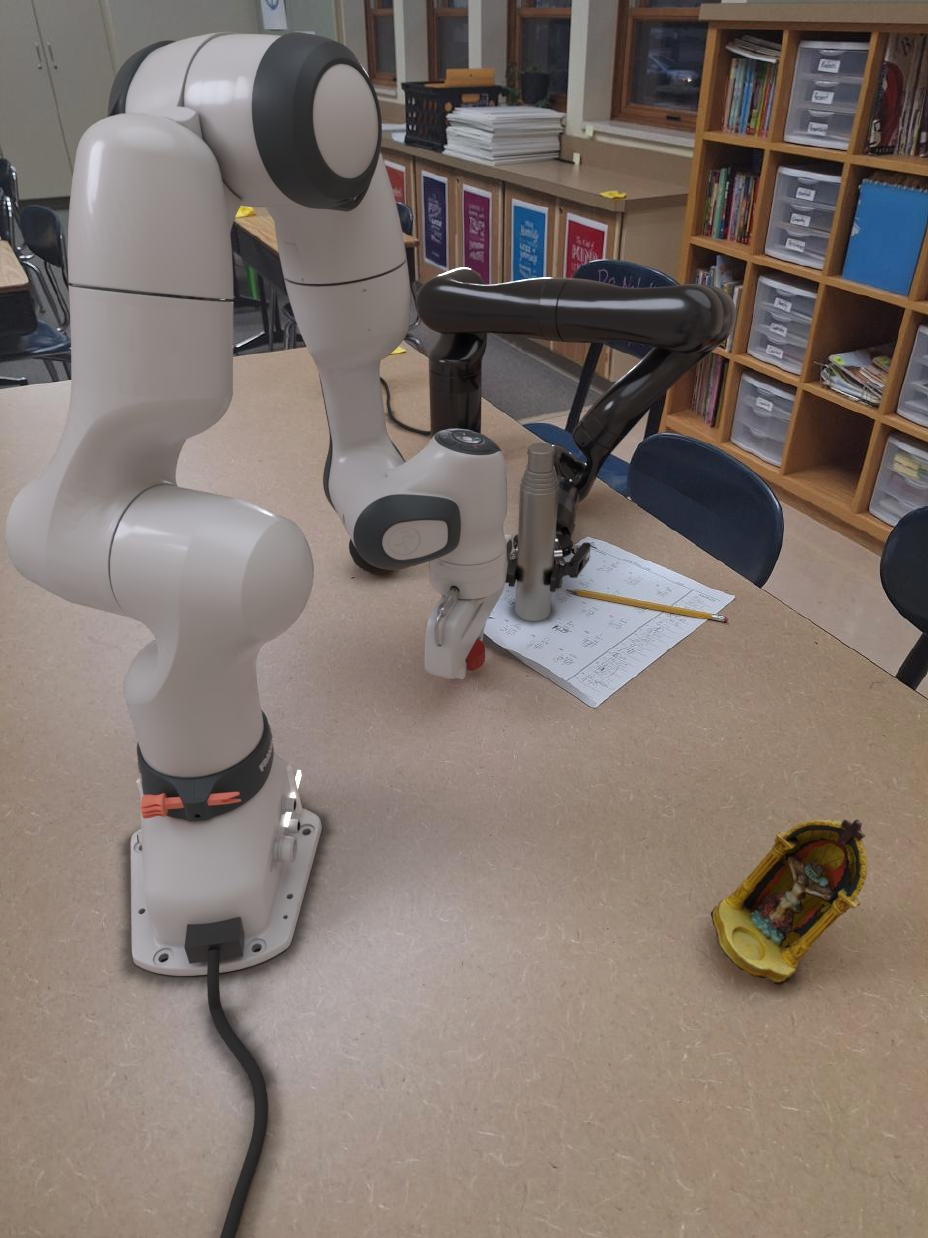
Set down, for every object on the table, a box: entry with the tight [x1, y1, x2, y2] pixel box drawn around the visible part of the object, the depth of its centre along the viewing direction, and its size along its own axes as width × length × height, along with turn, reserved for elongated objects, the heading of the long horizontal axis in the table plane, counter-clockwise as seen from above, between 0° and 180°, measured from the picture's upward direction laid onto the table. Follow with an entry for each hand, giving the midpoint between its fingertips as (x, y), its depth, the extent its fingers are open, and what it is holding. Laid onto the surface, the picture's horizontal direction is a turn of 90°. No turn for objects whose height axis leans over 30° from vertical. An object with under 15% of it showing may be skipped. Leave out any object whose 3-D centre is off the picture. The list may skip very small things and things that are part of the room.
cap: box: [465, 639, 486, 672], centre depth 107 cm, size 4×4×2 cm
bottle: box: [514, 442, 559, 622], centre depth 113 cm, size 5×5×24 cm
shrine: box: [710, 818, 868, 986], centre depth 72 cm, size 12×8×15 cm
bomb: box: [348, 537, 389, 574], centre depth 125 cm, size 8×8×12 cm
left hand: (467, 661), depth 107 cm, fingers closed on cap, 4 cm apart
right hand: (532, 583), depth 114 cm, fingers closed on bottle, 5 cm apart
